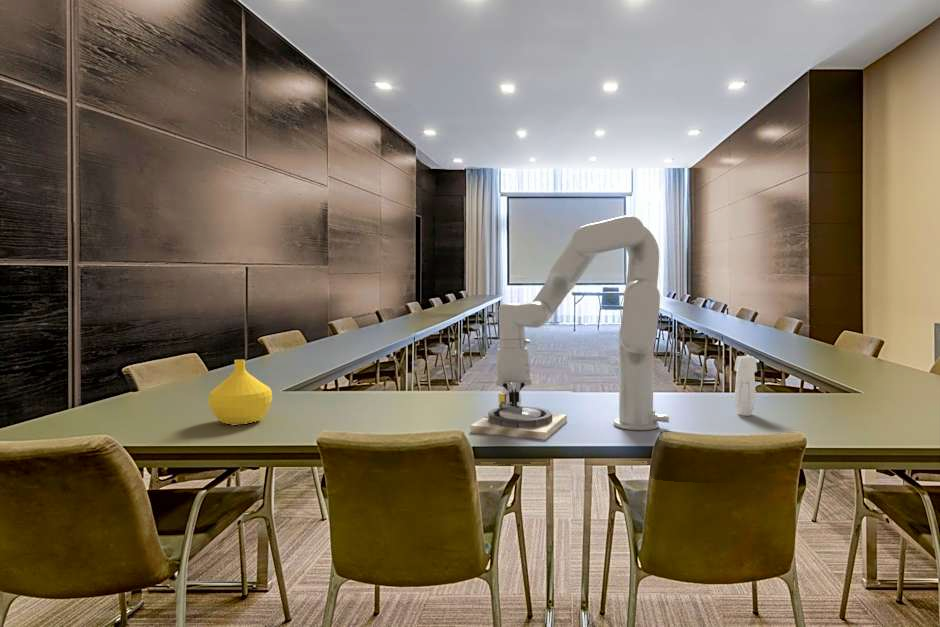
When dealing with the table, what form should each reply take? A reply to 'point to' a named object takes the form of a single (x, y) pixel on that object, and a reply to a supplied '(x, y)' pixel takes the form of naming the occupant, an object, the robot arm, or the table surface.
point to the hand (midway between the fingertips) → (514, 404)
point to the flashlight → (745, 384)
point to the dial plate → (520, 431)
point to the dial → (515, 410)
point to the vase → (240, 397)
